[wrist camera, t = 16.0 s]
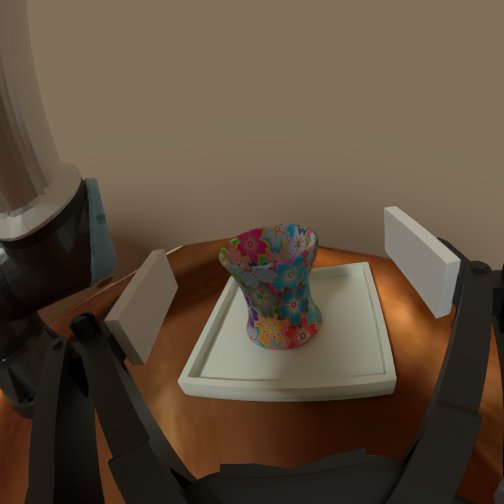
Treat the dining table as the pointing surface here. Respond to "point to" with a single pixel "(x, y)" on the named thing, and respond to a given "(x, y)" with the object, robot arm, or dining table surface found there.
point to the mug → (275, 283)
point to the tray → (298, 347)
